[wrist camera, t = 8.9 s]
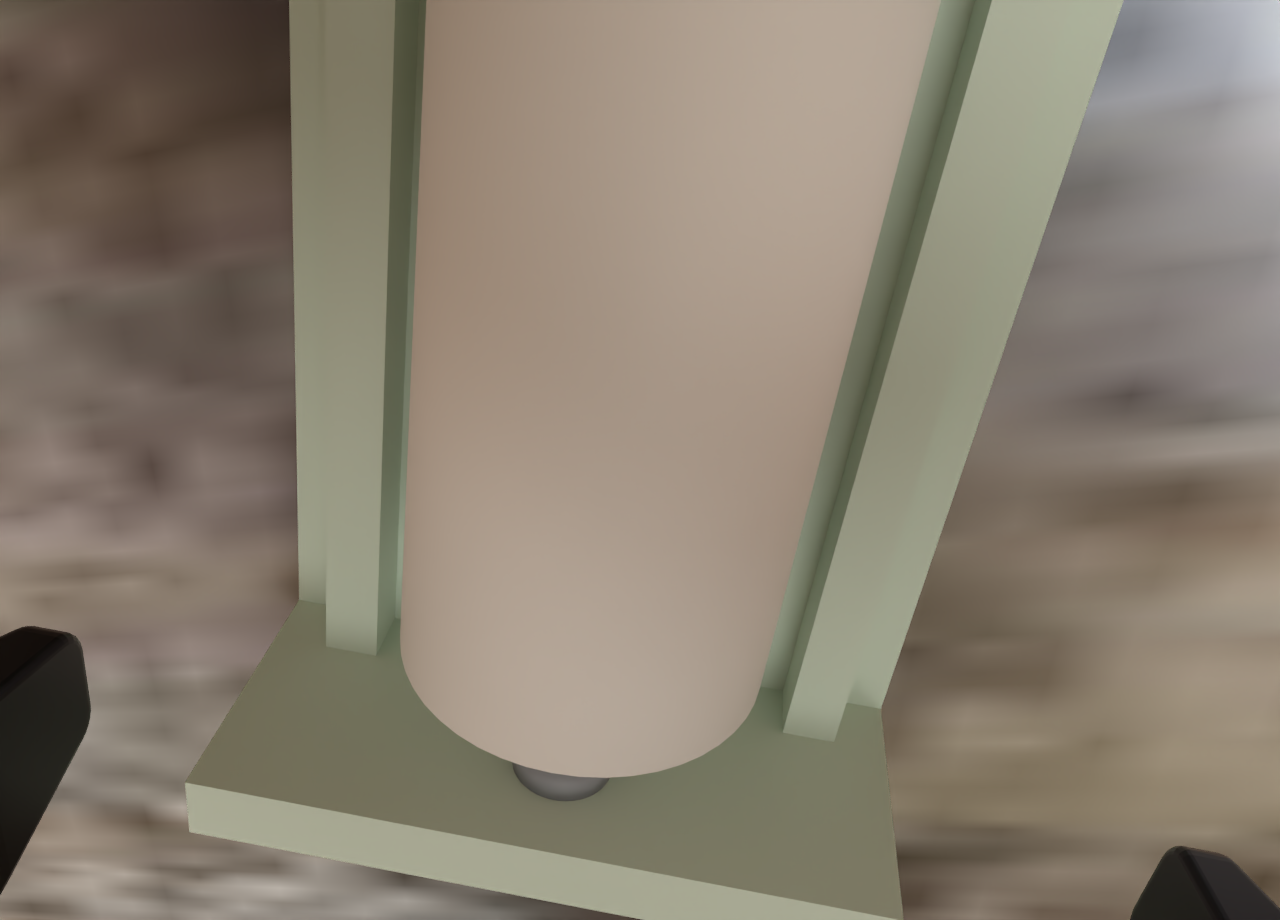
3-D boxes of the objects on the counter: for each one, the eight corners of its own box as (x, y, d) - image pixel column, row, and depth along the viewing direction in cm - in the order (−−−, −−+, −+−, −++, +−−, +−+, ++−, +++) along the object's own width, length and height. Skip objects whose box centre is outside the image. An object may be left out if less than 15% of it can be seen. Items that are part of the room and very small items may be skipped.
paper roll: (762, 576, 21) (755, 822, 16) (452, 520, 21) (347, 744, 16) (925, -82, 15) (997, -33, 10) (499, -153, 15) (356, -142, 10)
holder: (863, 718, 24) (884, 966, 19) (317, 615, 24) (189, 831, 19) (1226, -372, 14) (1480, -483, 9) (309, -519, 14) (46, -709, 9)
